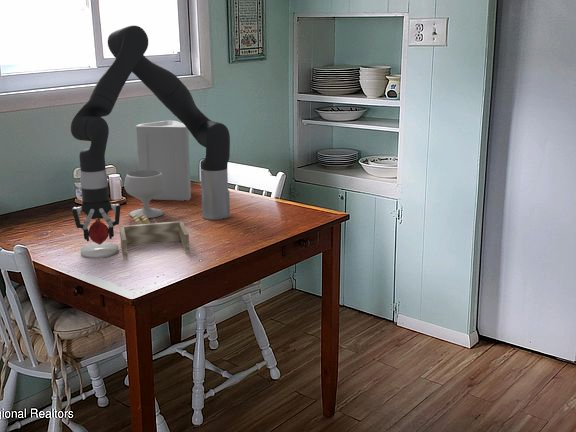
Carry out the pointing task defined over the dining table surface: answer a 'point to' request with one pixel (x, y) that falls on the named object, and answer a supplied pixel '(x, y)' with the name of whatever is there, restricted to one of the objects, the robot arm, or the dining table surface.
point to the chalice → (145, 190)
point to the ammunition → (143, 218)
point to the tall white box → (166, 156)
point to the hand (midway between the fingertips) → (99, 239)
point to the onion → (98, 232)
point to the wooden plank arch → (153, 235)
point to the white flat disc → (99, 250)
